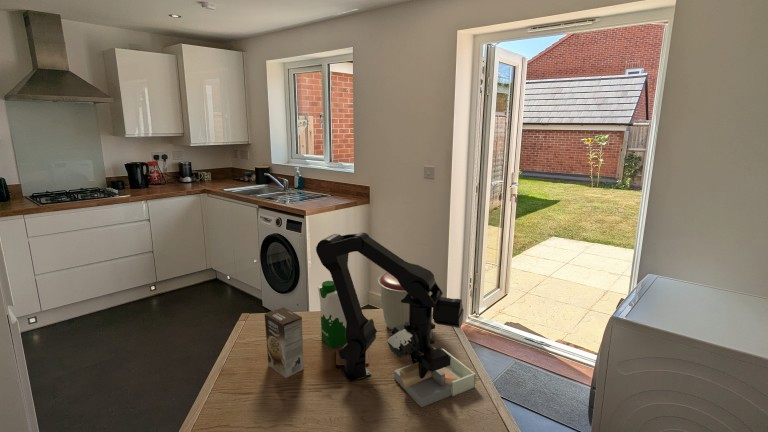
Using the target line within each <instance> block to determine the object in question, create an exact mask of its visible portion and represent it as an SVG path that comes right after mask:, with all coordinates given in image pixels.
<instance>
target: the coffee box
mask: <svg viewBox="0 0 768 432" xmlns="http://www.w3.org/2000/svg"><path fill="white" fill-rule="evenodd" d="M263 316H264V323H265V325H264V327H265V339H266V340H265V341H266V351H267V363H268V364H267V366H269V367H270V368H271V369H273V370H274V371H276V372H277V373H279V374H280V375H281V376H282V377H284V378H285V379H287V378H289V377H290V376H292V375H295V374H297V373H299V372H300V371H302V369H303V370H304V368H305V367H304V364H305V362H304V341H303V317H302V316H300V315H299V314H297V313H295V312H293V311H291V310H290V309H288V308H285V306H282V307H280V308H278V309H273V310H271V311H268V312H266V313H264V315H263Z"/></svg>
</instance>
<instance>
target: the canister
mask: <svg viewBox="0 0 768 432" xmlns="http://www.w3.org/2000/svg"><path fill="white" fill-rule="evenodd" d="M377 282H378V285H379V288H380V295H381V296H380V297H381V306H382V311H383V319H384V323H385V325H386V326H387V328H388V329H390V330H391V331H392V330H393V329H394V327H396V326H400V325H404V324H405V322H408V321H409V304H407V303H402V302H401V299H402V298H403V297H404V296H405V295H406V294H407V292H406V291H405V290H404V289H403V288H402V287H401V285H400V284H399V282H398V280H397V279H396V278H395V277H394V276H392V275H391V274H389V273H388V272H387V271H386V272H385V273H383V274H382V275H380V276H379V277H378V278H377ZM430 294H431V293H430V292H429V295H430Z"/></svg>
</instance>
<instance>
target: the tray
mask: <svg viewBox="0 0 768 432" xmlns="http://www.w3.org/2000/svg"><path fill="white" fill-rule="evenodd" d="M441 349H442V350H443V351H444V352H446V353H447V354H448V355H449V356H451V364H450V366H447V367H444V368H446V369H445V370H448V371H450V372H451V373H452V374H453V375H454V376H455V377H457V378H458V379H457V380H455V381H452V384H449V385H450V386H451V397H454V396H457V395H460V394H463V393H464V392H467V391H469V390H472V389H475V388H476V373H475V372H474V371H472V370H471V369H470V368H469V367H468V366H466V365H465V364H464V363H462V362H461V361H460V360H459V359H457V358H456V357H454V356H453V354H451V353H450V352H448V351H447V350H446V349H444V348H441Z"/></svg>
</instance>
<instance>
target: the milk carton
mask: <svg viewBox="0 0 768 432" xmlns="http://www.w3.org/2000/svg"><path fill="white" fill-rule="evenodd" d="M317 289H318V295H319V296H318V297H319V305H320V326H321V327H320V328H321V329H320V330H321V331H320V332H321V334H320V335H321V340H322V342H324V343H325V345H326V346H328V348H330V349H331V350H333V349H336V348H339V347H343V346H344V345H345V344H346V337H345V332H346V319H345V316H344V313H343V310H342V307H341V304H340V301H339V298H338V295H337V292H336V289H335V286H334V282H333V280H326V281H322V283H321V285H320V286H318V287H317Z"/></svg>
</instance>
